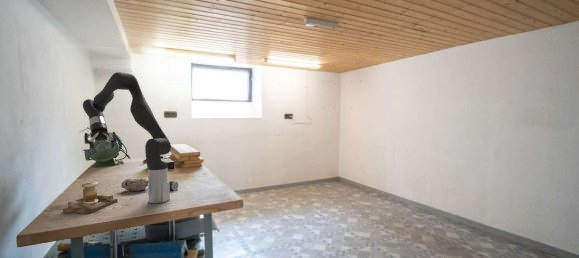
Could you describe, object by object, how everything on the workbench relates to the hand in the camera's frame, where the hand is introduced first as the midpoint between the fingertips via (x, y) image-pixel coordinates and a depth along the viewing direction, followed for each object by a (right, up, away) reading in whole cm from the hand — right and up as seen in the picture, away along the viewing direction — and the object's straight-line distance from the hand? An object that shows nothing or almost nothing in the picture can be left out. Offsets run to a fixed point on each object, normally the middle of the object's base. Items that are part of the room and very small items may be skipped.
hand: (102, 147), depth 137 cm
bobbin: (+2, -27, -11) cm, 29 cm away
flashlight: (+24, -27, +19) cm, 41 cm away
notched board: (+3, -28, -11) cm, 30 cm away
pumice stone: (+8, -27, +16) cm, 32 cm away
